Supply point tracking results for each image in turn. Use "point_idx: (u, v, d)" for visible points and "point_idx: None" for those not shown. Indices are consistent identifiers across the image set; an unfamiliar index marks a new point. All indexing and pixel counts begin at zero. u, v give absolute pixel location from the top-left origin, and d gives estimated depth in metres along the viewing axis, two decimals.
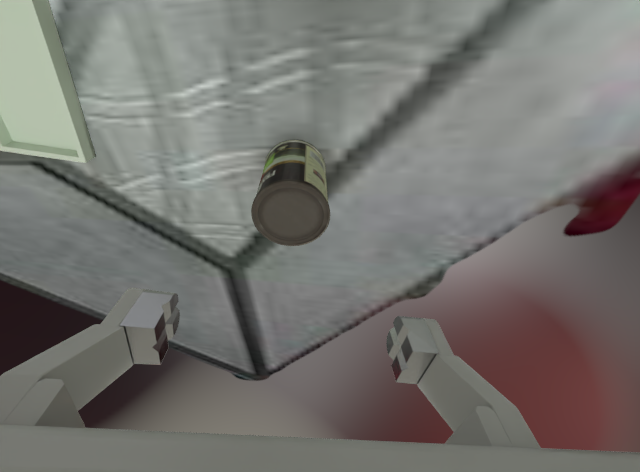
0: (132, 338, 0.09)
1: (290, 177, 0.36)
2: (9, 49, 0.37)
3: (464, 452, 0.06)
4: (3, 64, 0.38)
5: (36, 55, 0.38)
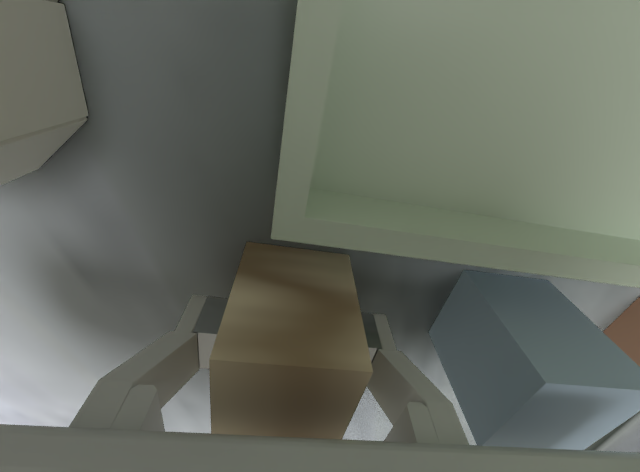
0: (202, 344, 0.09)
1: None
2: (546, 41, 0.07)
3: (464, 452, 0.06)
4: (575, 119, 0.08)
5: None
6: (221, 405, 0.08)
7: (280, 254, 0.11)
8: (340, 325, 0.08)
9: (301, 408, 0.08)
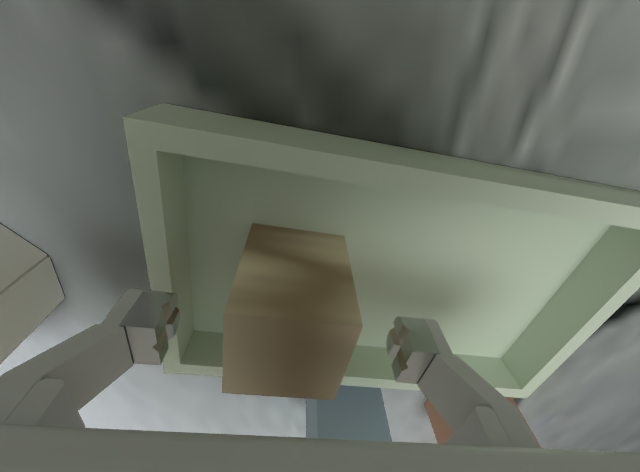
0: (132, 338, 0.09)
1: None
2: None
3: (464, 452, 0.06)
4: None
5: (323, 215, 0.12)
6: (232, 358, 0.09)
7: (282, 234, 0.12)
8: (335, 291, 0.10)
9: (301, 362, 0.09)
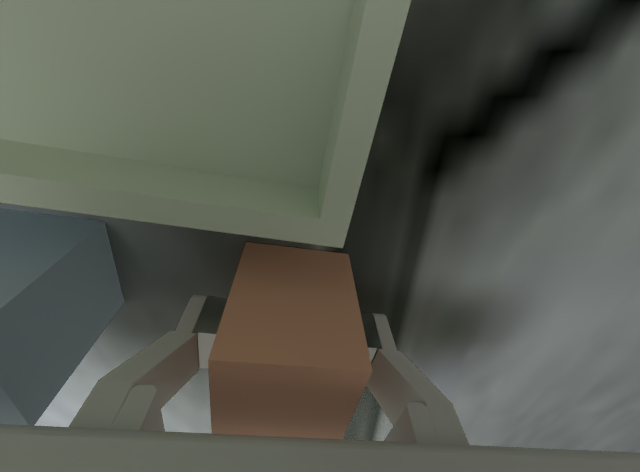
0: (202, 344, 0.09)
1: None
2: None
3: (464, 452, 0.06)
4: None
5: None
6: None
7: None
8: None
9: None
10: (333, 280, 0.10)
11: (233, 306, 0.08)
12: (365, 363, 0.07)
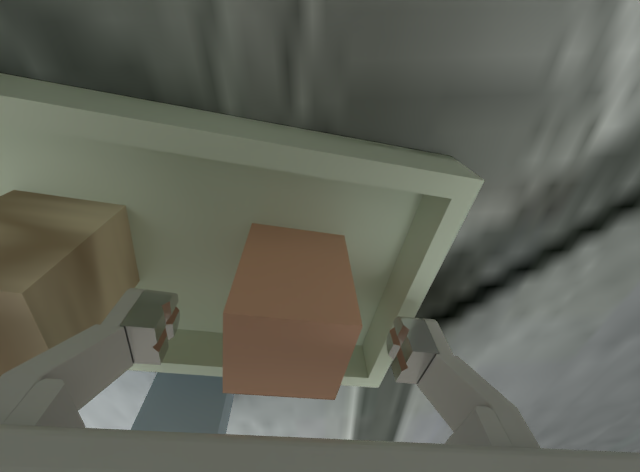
0: (132, 338, 0.09)
1: None
2: None
3: (464, 452, 0.06)
4: (155, 279, 0.14)
5: (91, 181, 0.11)
6: None
7: (41, 201, 0.11)
8: (34, 257, 0.08)
9: None
10: (330, 255, 0.11)
11: (242, 273, 0.09)
12: (356, 319, 0.09)
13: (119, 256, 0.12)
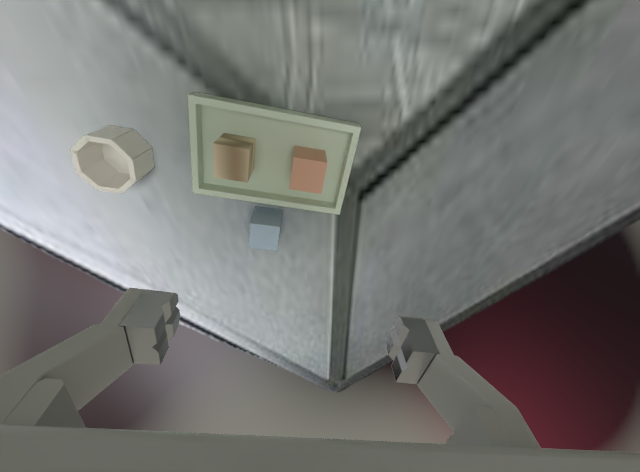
0: (132, 338, 0.09)
1: None
2: None
3: (464, 452, 0.06)
4: (259, 167, 0.39)
5: (247, 130, 0.36)
6: (215, 161, 0.33)
7: (233, 135, 0.36)
8: (245, 145, 0.34)
9: (235, 163, 0.34)
10: (320, 153, 0.37)
11: (295, 153, 0.35)
12: (326, 161, 0.34)
13: (253, 154, 0.37)
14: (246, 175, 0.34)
